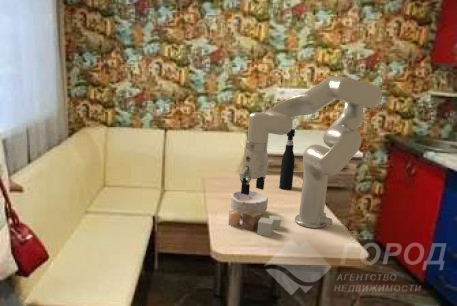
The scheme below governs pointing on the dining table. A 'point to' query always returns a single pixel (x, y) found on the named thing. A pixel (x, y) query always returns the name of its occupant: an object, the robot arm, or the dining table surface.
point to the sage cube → (276, 221)
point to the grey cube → (265, 226)
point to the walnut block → (251, 220)
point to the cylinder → (234, 218)
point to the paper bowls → (249, 202)
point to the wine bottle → (287, 164)
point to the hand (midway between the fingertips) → (252, 191)
